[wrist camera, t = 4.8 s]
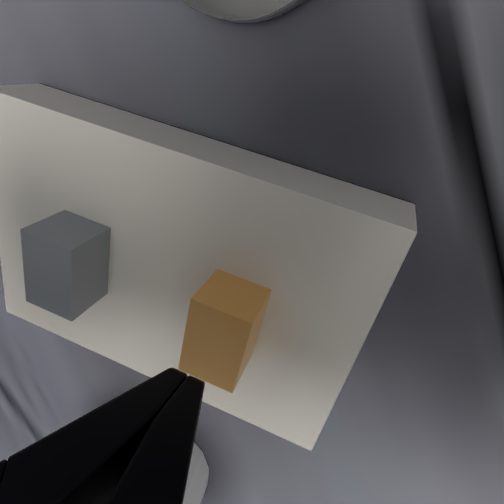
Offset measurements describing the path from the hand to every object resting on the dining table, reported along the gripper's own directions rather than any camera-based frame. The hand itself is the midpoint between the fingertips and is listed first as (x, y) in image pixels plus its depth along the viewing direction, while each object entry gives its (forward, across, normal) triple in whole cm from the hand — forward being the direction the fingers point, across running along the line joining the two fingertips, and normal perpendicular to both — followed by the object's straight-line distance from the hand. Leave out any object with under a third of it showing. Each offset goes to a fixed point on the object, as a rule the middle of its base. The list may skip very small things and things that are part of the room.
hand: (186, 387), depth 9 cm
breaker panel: (+5, +2, 0) cm, 6 cm away
